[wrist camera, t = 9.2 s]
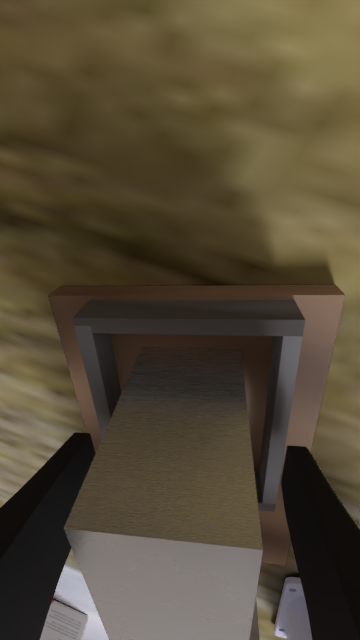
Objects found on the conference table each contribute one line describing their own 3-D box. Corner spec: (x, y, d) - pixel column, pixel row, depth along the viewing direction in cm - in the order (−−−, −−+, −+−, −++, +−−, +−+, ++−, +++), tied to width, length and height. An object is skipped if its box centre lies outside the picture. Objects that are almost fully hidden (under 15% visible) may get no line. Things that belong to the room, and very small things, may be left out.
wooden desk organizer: (282, 547, 20) (317, 760, 13) (122, 530, 21) (74, 713, 14) (335, 284, 11) (532, 492, 4) (60, 286, 13) (-143, 442, 6)
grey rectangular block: (240, 347, 12) (263, 549, 6) (234, 456, 15) (245, 666, 9) (142, 345, 12) (63, 528, 6) (155, 450, 15) (111, 645, 9)
